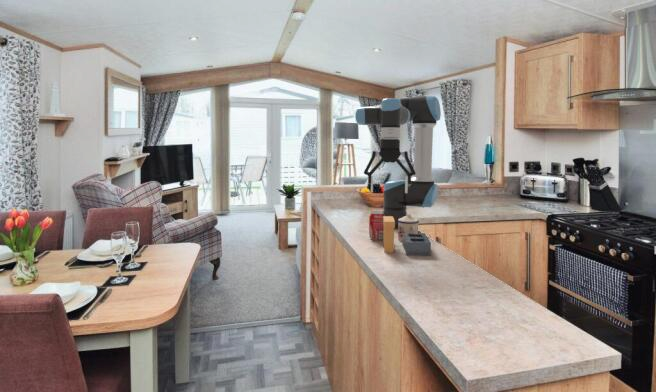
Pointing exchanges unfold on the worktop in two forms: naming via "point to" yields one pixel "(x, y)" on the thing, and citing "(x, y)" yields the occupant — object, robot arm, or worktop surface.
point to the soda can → (376, 225)
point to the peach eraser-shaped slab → (388, 234)
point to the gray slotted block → (416, 244)
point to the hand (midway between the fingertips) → (388, 192)
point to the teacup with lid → (407, 225)
